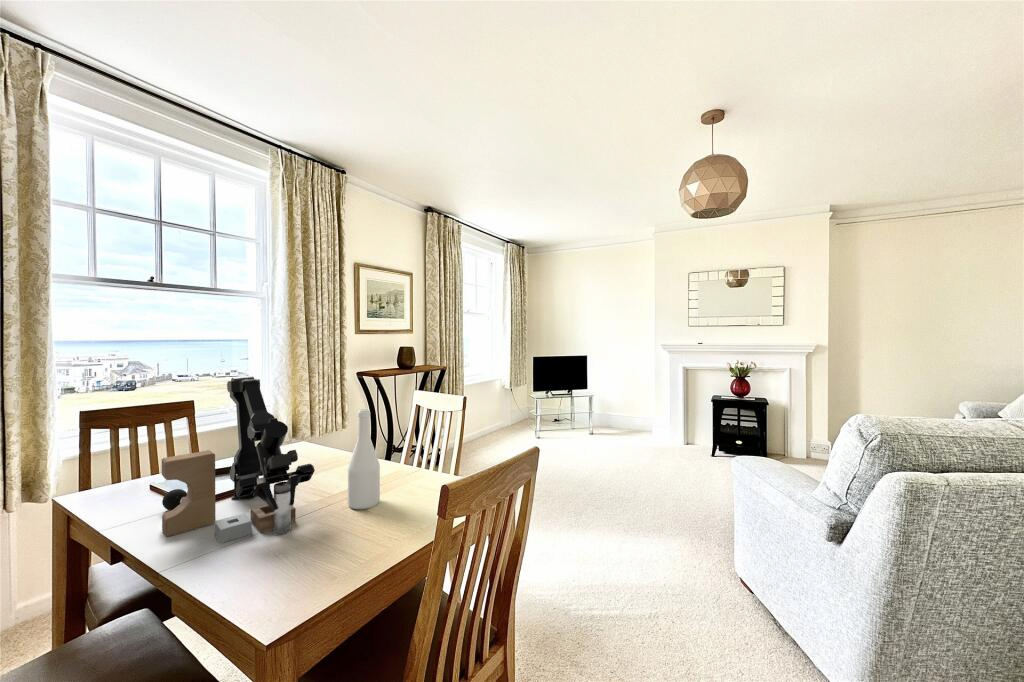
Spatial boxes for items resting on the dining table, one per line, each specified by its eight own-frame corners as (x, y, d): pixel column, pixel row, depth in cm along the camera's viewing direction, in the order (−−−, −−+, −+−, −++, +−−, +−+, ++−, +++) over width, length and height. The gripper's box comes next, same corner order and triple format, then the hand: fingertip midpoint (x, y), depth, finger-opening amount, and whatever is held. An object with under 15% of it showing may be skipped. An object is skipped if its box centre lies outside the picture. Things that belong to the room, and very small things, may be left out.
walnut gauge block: (250, 522, 119) (250, 508, 119) (284, 512, 125) (284, 499, 125) (259, 532, 112) (259, 518, 112) (295, 522, 119) (295, 508, 119)
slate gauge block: (214, 533, 112) (214, 521, 112) (244, 525, 117) (244, 513, 117) (220, 543, 107) (220, 529, 107) (251, 533, 112) (251, 520, 112)
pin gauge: (271, 535, 111) (271, 487, 111) (278, 528, 115) (277, 481, 115) (286, 534, 112) (286, 486, 111) (293, 527, 116) (293, 481, 115)
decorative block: (165, 538, 109) (164, 462, 109) (161, 530, 113) (161, 457, 113) (216, 524, 117) (215, 453, 117) (211, 517, 121) (210, 449, 121)
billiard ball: (173, 514, 123) (173, 494, 123) (157, 512, 125) (157, 492, 125) (193, 506, 129) (192, 487, 129) (177, 504, 131) (177, 485, 130)
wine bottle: (355, 497, 137) (355, 406, 136) (383, 498, 136) (384, 407, 136) (342, 510, 127) (342, 412, 127) (373, 510, 127) (373, 412, 126)
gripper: (238, 448, 109) (250, 502, 101) (312, 436, 122) (327, 482, 115) (230, 471, 114) (241, 523, 107) (302, 456, 128) (316, 503, 120)
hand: (284, 507), depth 112 cm, fingers closed on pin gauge, 4 cm apart
